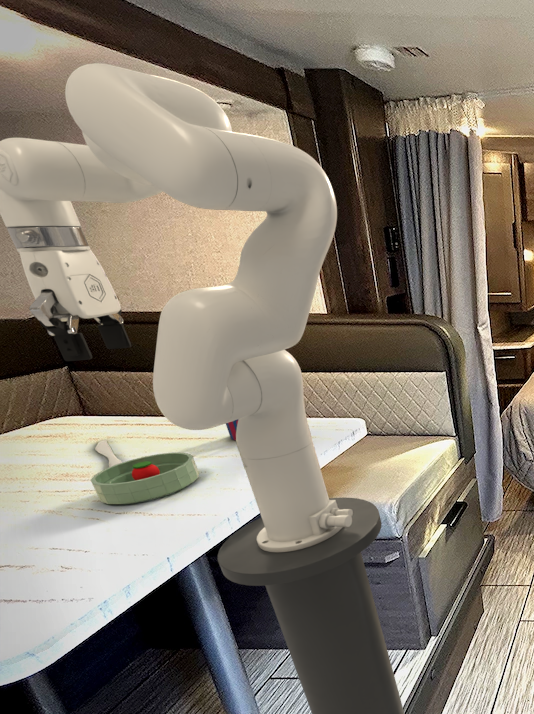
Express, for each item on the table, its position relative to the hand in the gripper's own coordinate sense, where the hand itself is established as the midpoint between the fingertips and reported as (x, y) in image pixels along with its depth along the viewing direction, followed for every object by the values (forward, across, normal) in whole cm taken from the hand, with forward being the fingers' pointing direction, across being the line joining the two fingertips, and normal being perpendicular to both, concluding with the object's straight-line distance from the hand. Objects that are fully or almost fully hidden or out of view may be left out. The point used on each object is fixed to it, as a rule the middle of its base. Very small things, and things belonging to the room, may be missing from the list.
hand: (100, 353), depth 81 cm
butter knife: (+27, +31, +25) cm, 48 cm away
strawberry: (+27, +8, +6) cm, 29 cm away
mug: (+28, +33, -1) cm, 43 cm away
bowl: (+28, +8, +6) cm, 29 cm away
